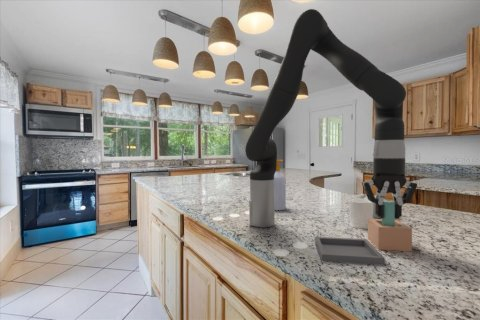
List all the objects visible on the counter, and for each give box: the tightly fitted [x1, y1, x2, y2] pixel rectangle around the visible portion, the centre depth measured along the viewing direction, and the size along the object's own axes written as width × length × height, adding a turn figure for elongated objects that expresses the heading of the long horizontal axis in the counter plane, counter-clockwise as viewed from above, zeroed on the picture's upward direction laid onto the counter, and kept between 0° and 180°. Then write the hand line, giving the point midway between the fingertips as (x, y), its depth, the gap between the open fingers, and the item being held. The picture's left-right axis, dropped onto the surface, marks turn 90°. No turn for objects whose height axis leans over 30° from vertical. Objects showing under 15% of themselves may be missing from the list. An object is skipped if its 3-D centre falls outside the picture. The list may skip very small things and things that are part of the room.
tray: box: [314, 236, 386, 266], centre depth 62 cm, size 14×12×2 cm
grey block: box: [354, 193, 386, 219], centre depth 101 cm, size 10×13×9 cm
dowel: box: [382, 200, 396, 226], centre depth 66 cm, size 3×3×12 cm
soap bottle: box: [274, 159, 287, 212], centre depth 113 cm, size 9×9×24 cm
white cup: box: [348, 197, 374, 230], centre depth 83 cm, size 8×8×10 cm
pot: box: [367, 218, 413, 252], centre depth 66 cm, size 8×8×7 cm
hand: (388, 217), depth 66 cm, fingers open, 3 cm apart
